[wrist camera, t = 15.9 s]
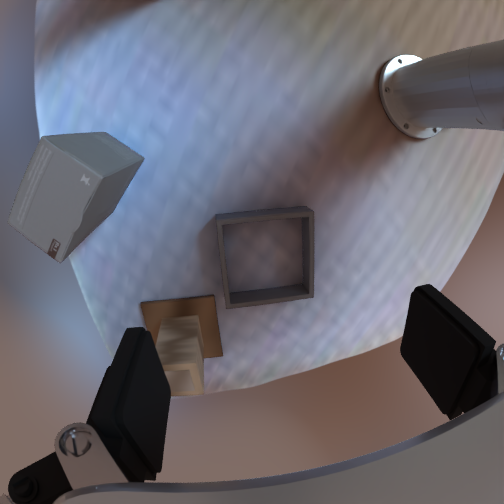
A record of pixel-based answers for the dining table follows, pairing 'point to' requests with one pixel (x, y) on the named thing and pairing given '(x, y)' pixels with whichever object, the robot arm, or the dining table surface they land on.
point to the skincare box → (71, 189)
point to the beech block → (182, 354)
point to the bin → (280, 292)
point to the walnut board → (186, 307)
